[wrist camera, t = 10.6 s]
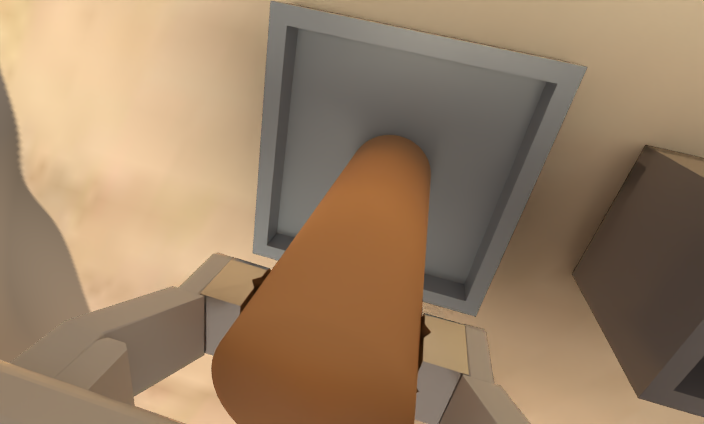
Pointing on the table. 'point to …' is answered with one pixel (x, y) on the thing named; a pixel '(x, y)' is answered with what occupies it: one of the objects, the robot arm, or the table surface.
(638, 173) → the square hollow box
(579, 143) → the table surface
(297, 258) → the peg
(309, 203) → the tray
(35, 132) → the table surface
